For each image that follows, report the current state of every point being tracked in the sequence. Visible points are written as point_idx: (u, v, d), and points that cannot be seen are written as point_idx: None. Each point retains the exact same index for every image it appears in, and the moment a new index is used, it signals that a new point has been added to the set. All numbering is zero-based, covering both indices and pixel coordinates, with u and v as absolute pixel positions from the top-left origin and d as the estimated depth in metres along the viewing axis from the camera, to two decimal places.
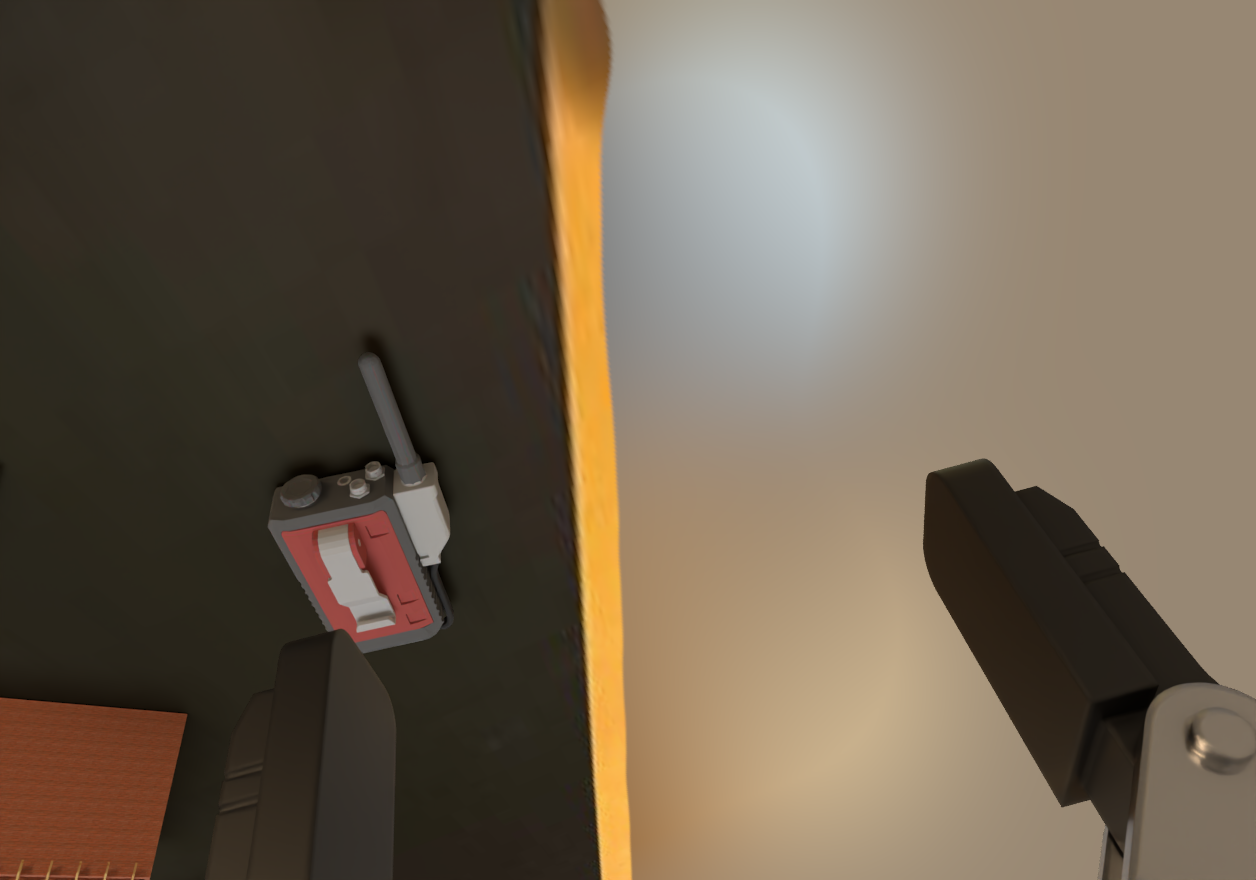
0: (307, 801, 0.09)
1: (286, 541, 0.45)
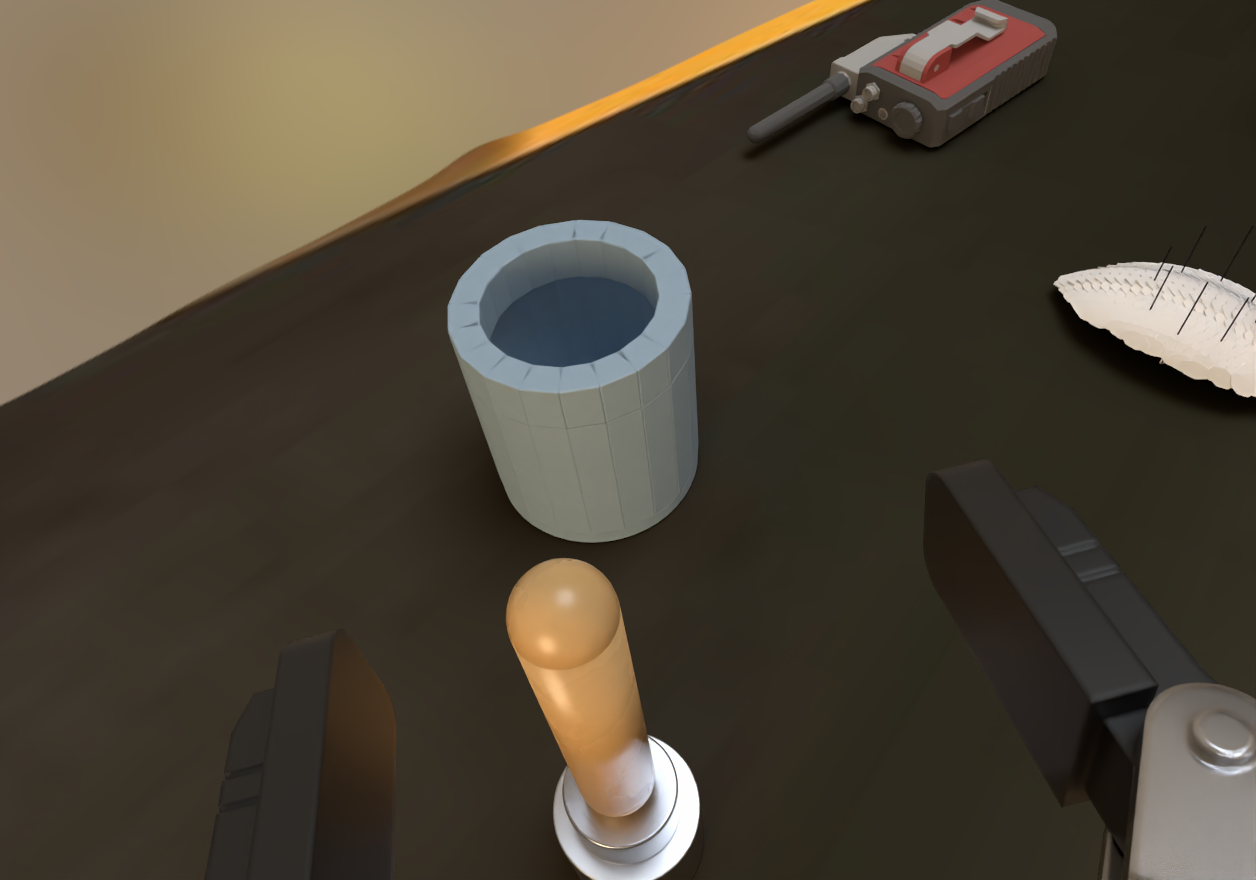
0: (307, 801, 0.09)
1: (951, 93, 0.50)
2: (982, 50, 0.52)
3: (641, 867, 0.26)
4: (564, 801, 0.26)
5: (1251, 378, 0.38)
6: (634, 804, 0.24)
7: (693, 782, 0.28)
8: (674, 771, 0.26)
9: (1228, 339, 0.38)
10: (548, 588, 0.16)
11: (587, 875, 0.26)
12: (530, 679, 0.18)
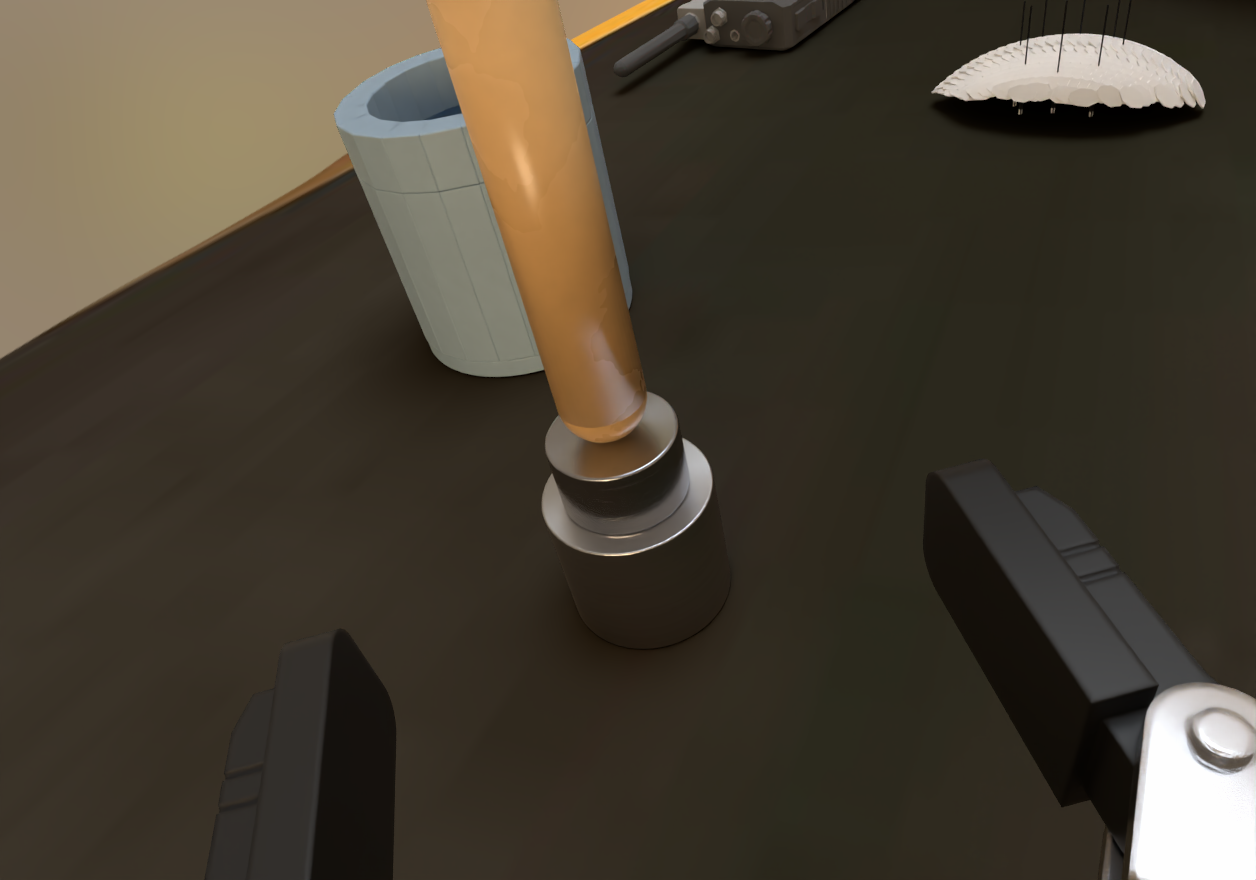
0: (307, 801, 0.09)
1: None
2: None
3: (658, 529, 0.22)
4: (550, 459, 0.22)
5: (1138, 88, 0.39)
6: (628, 399, 0.20)
7: (696, 449, 0.24)
8: (669, 404, 0.22)
9: (1104, 62, 0.39)
10: None
11: (597, 554, 0.22)
12: (454, 42, 0.15)
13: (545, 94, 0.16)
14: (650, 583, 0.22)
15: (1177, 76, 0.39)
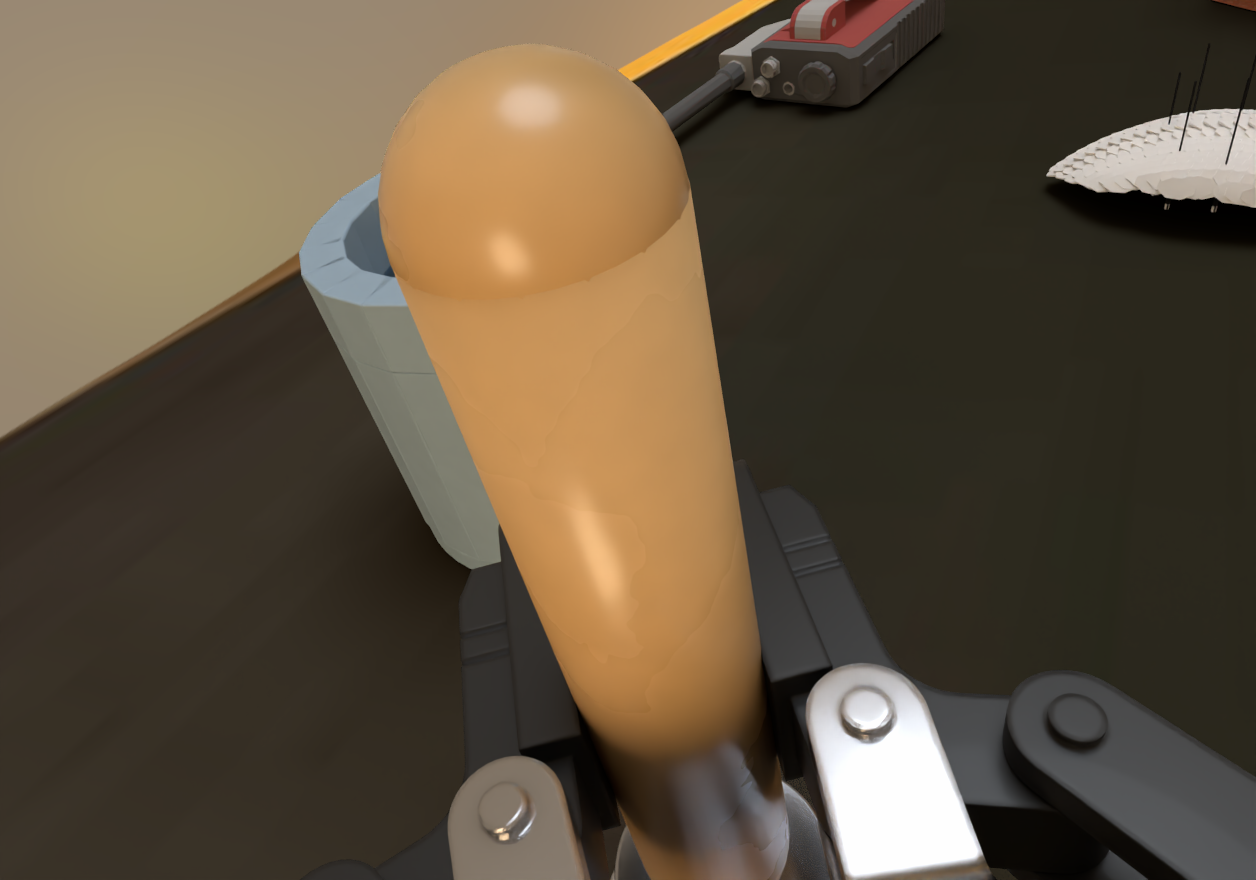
0: None
1: (857, 42, 0.45)
2: (874, 6, 0.48)
3: None
4: None
5: None
6: (767, 872, 0.12)
7: None
8: (812, 810, 0.14)
9: None
10: (476, 64, 0.06)
11: None
12: (487, 441, 0.07)
13: (681, 521, 0.07)
14: None
15: None
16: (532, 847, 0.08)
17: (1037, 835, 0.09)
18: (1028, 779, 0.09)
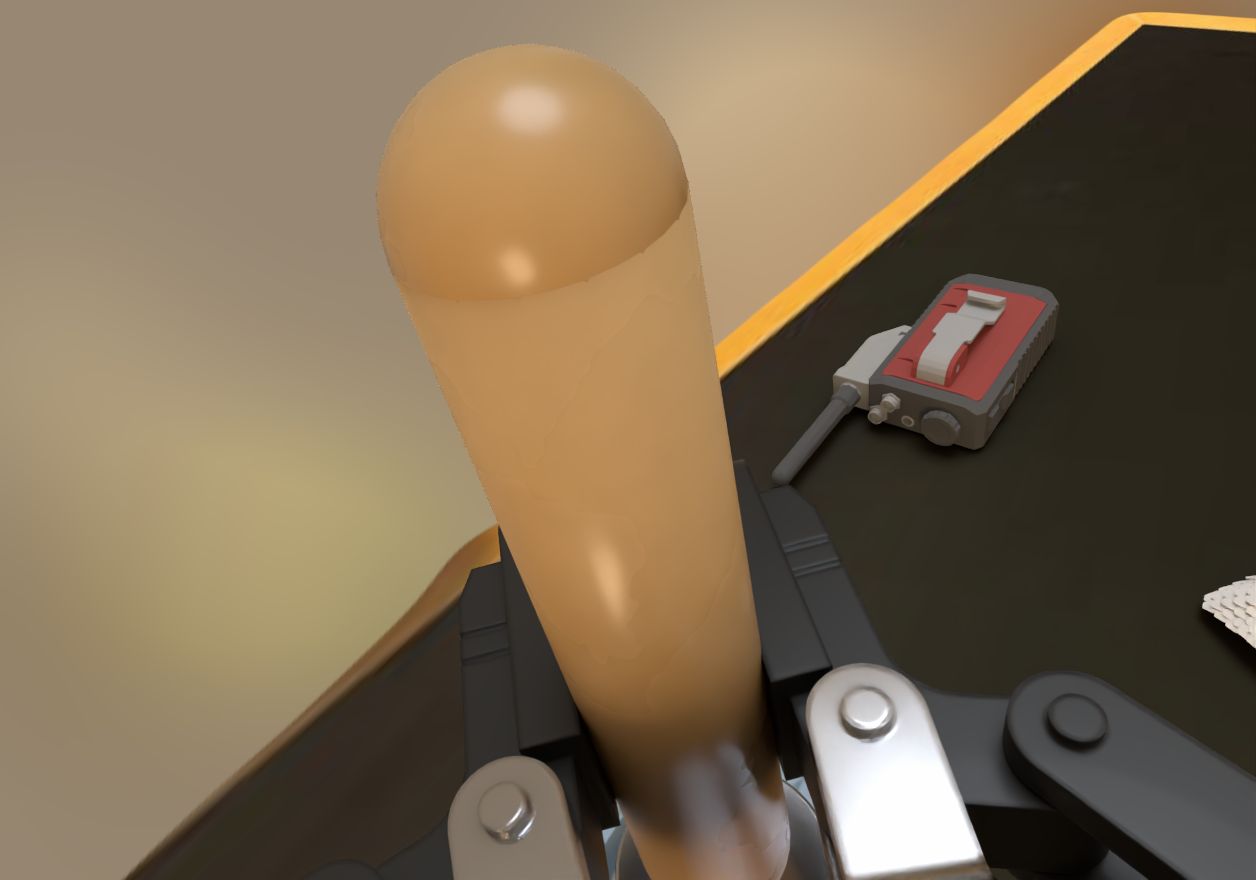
0: None
1: (983, 393, 0.45)
2: (992, 335, 0.48)
3: None
4: None
5: None
6: (768, 872, 0.12)
7: None
8: (813, 810, 0.14)
9: None
10: (474, 64, 0.06)
11: None
12: (486, 442, 0.07)
13: (680, 521, 0.07)
14: None
15: None
16: (532, 847, 0.08)
17: (1037, 835, 0.09)
18: (1028, 779, 0.09)
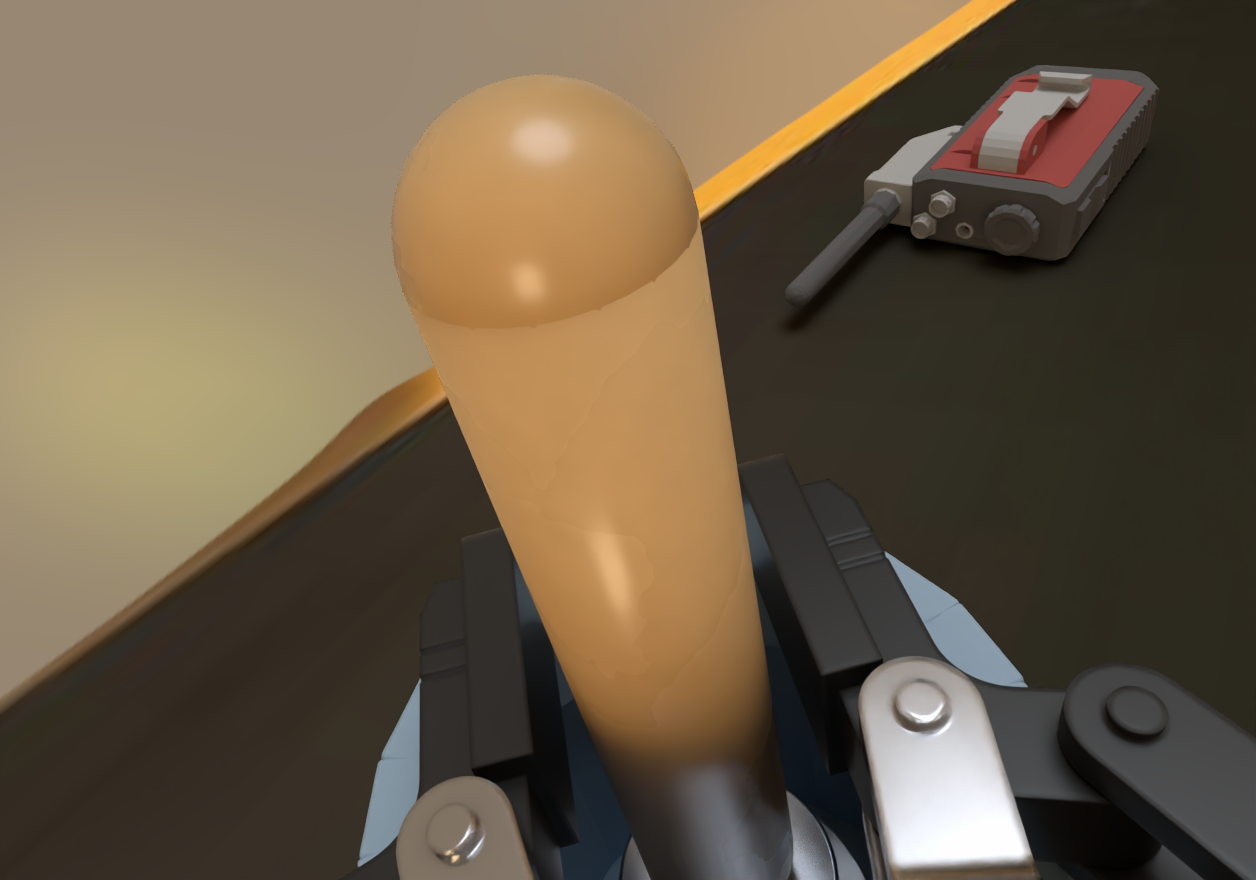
0: (513, 664, 0.10)
1: (1070, 179, 0.34)
2: (1075, 120, 0.37)
3: None
4: None
5: None
6: None
7: (844, 848, 0.16)
8: (816, 819, 0.14)
9: None
10: (488, 96, 0.06)
11: None
12: (498, 464, 0.07)
13: (688, 540, 0.07)
14: None
15: None
16: (483, 866, 0.08)
17: (1093, 828, 0.09)
18: (1085, 772, 0.09)
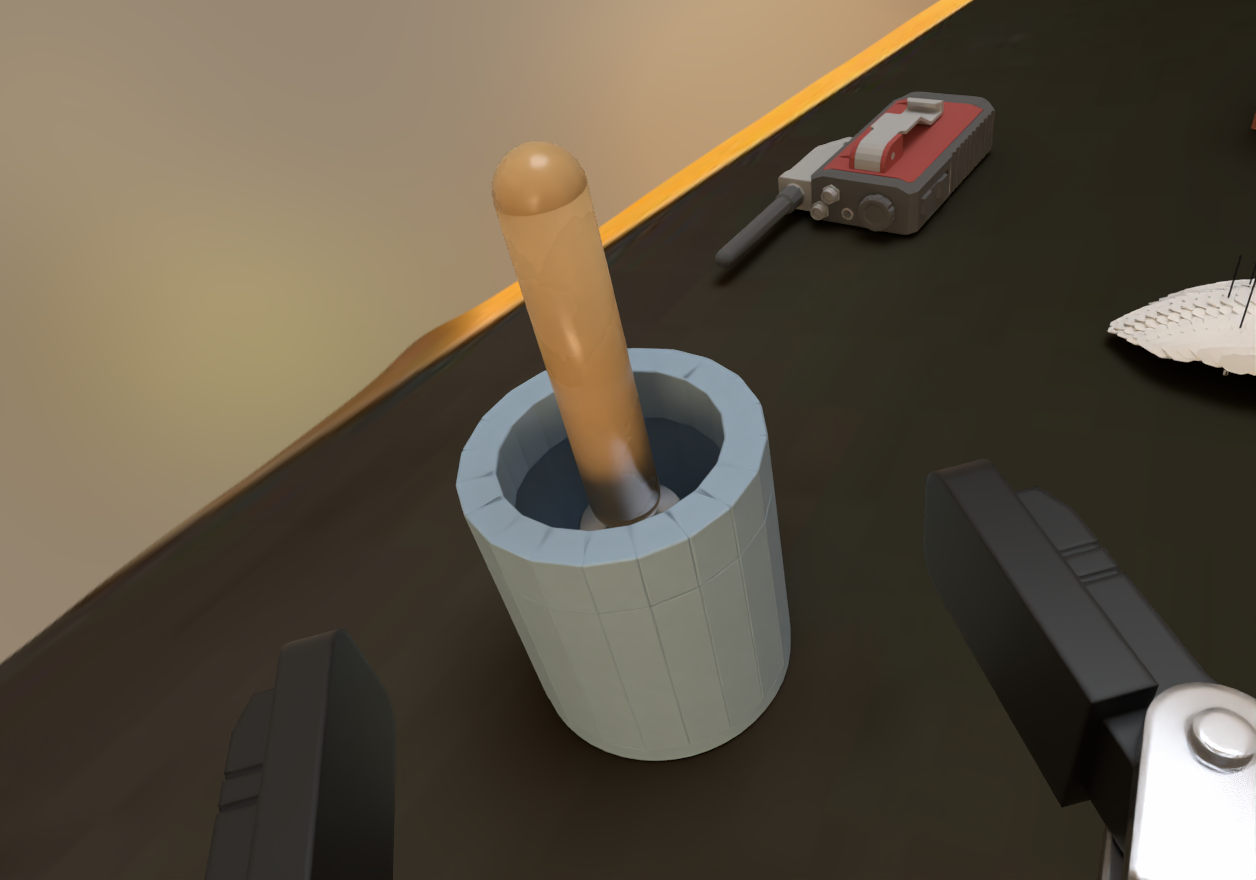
0: (307, 801, 0.09)
1: (916, 176, 0.48)
2: (928, 133, 0.50)
3: None
4: None
5: None
6: (646, 499, 0.26)
7: None
8: (677, 496, 0.28)
9: None
10: (522, 148, 0.20)
11: None
12: (524, 265, 0.21)
13: (589, 297, 0.21)
14: None
15: None
16: None
17: None
18: None
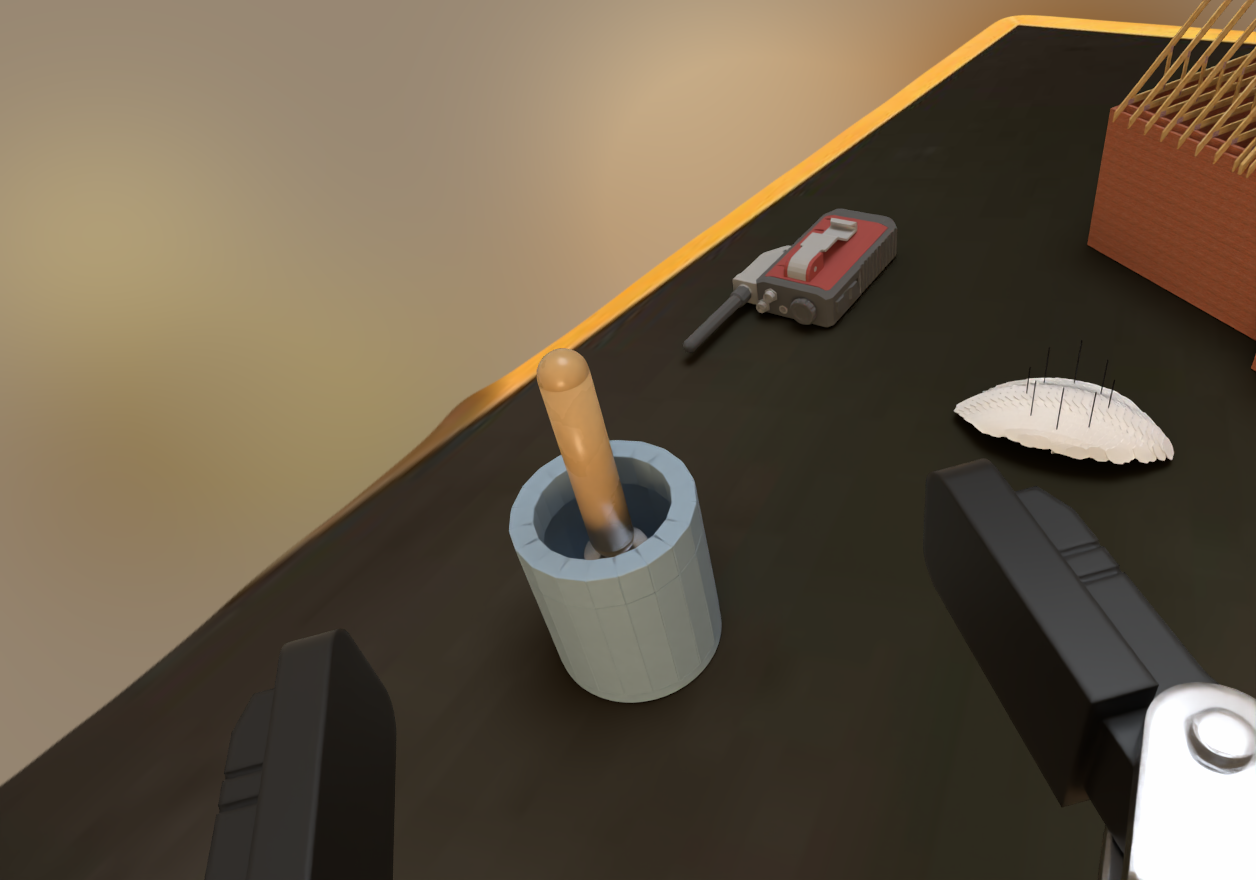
0: (307, 801, 0.09)
1: (832, 285, 0.64)
2: (844, 248, 0.67)
3: None
4: None
5: (1120, 449, 0.49)
6: (624, 539, 0.42)
7: None
8: (645, 535, 0.44)
9: (1093, 424, 0.50)
10: (554, 354, 0.36)
11: None
12: (554, 414, 0.37)
13: (590, 430, 0.38)
14: None
15: (1151, 437, 0.49)
16: None
17: None
18: None
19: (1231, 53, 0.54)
